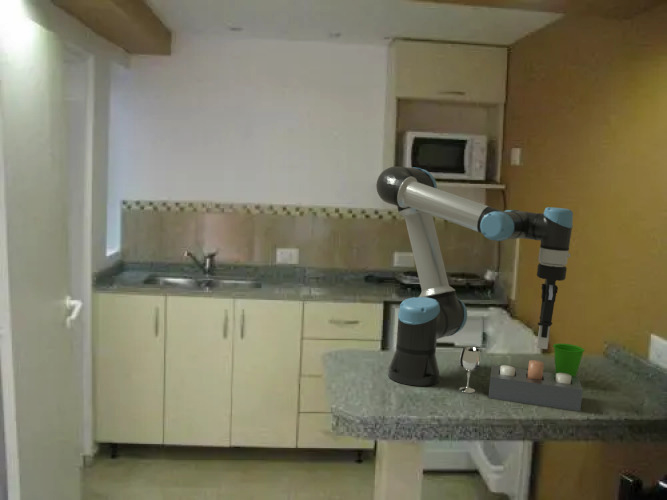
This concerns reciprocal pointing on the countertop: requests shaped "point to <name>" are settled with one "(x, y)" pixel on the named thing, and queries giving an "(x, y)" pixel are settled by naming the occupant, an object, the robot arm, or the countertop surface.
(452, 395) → the countertop surface
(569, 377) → the white plug
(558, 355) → the cup
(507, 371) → the white plug
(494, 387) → the grey socket block
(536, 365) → the plug terracotta
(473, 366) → the wineglass
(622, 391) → the countertop surface
